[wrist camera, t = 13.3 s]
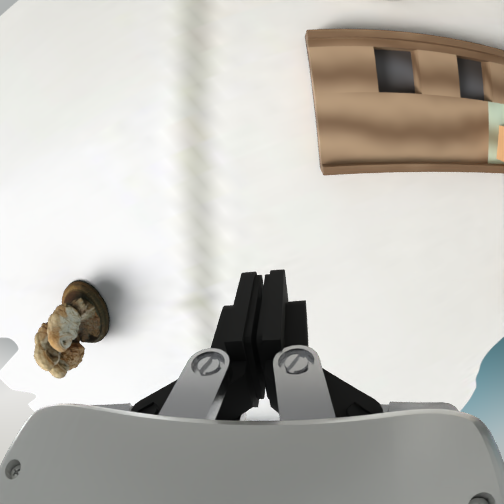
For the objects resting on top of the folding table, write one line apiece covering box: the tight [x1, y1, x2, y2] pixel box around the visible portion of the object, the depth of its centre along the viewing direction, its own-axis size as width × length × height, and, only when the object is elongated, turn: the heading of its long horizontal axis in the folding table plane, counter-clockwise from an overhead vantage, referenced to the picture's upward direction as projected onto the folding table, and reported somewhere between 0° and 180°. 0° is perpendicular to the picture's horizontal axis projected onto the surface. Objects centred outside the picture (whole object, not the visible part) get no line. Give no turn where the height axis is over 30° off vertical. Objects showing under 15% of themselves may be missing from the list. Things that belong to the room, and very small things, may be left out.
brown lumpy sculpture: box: [34, 281, 109, 378], centre depth 52 cm, size 18×12×17 cm, turn 161°
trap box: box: [305, 29, 504, 175], centre depth 32 cm, size 18×34×4 cm, turn 98°
